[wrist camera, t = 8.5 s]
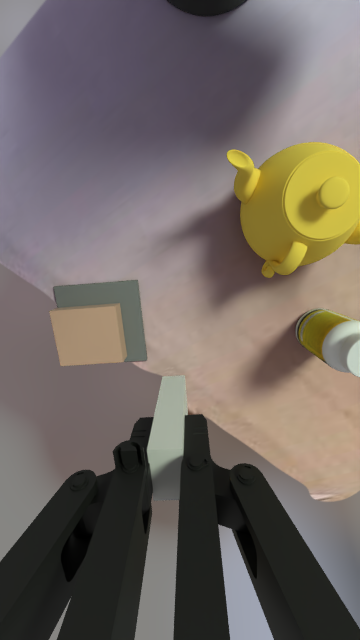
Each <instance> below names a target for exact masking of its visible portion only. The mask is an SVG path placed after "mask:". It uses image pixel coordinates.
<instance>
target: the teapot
mask: <svg viewBox="0 0 360 640" xmlns="http://www.w3.org/2000/svg"><path fill="white" fill-rule="evenodd" d="M227 159H228V160H229V162H230V163H231V164H232V165H233V166H234V167H235V168H236V169H237V170H238V172H237V174H236V177H235V181H234V192H235V194H236V196H237V198H238V199H239V200H240V201H241V210H240V220H241V226H242V230H243V233H244V236H245V238H246V240H247V242H248V244H249V245H250V247H251V248H252V249H253V250H254V251H255V252H256V253H257V254H258V255H259V256H260V257H262V258H263V259H265V260H266V262H265V263H264V265H263V268H262V274H263V275H264V276H265V277H267V278H271V277H272V276H273V275H274V273H275V272H276V273H278V274H281V275H289V274H291V273H292V272H293V271H294V270H295V269H296V268H297V267H298V266H303V265H307V264H310V263H313V262H316V261H319V260H321V259H323V258H325V257H326V256H328V255H330V254H331V253H333V252H334V251H336V250H337V249H338V248H339V247H340V246H341V245H342V244H344V243H347V244H360V164H359V162H358V161H357V160H356V159H355V158H354V157H353V156H352V155H350V154H349V153H348V152H346V151H345V150H343V149H341V148H339V147H336V146H333V145H330V144H327V143H321V142H309V143H301V144H297V145H294V146H291V147H288V148H286V149H284V150H282V151H280V152H278V153H276V154H275V155H273V156H272V157H270V158H269V159H268V160H266V161H265V162H264V163H263V164H262V165H261V166H260V167H259V168H258V169H256V168H254V164H253V161H252V160H251V158H250V157H249V156H248V155H246V154H245V153H243V152H241V151H239V150H229V151H228V152H227Z"/></svg>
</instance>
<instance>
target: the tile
mask: <svg viewBox="0 0 360 640" xmlns="http://www.w3.org/2000/svg"><path fill="white" fill-rule="evenodd" d="M49 312H50V317H51V322H52V327H53V332H54V336H55V341H56V346H57V351H58V355H59V361H60V365H61V366H71V365H87V364H102V363H118V362H124V360H125V358H126V357H127V351H126V344H125V337H124V329H123V322H122V315H121V308H120V303H114V304H101V305H88V306H75V307H62V308H56V309H54V310H51V311H49Z"/></svg>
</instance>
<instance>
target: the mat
mask: <svg viewBox="0 0 360 640" xmlns="http://www.w3.org/2000/svg"><path fill="white" fill-rule="evenodd" d="M54 292H55V297H56V302H57V307H58V308H62V307H75V306H88V305H101V304H114V303H120V308H121V315H122V322H123V329H124V337H125V344H126V351H127V357H126V358H125V360H124V362H129V361H144V360H147V353H146V345H145V337H144V328H143V320H142V311H141V303H140V295H139V286H138V280H131V281H118V282H106V283H94V284H81V285H69V286H56V287H54Z"/></svg>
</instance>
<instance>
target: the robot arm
mask: <svg viewBox="0 0 360 640" xmlns="http://www.w3.org/2000/svg"><path fill="white" fill-rule="evenodd" d="M168 1H169V2H170V3H172V4H173V5H174V6H176V7H177V8H179V9H181V10H183V11H185V12H188V13H191V14H195V15H201V16H211V15H218V14H222V13H225V12H227V11H230V10H232V9H234V8H236V7H237V6H239V5H240V4H242V3H243V2H244V1H246V0H168ZM113 455H114V461H115V467H116V468H115V469H114V470H113V471H111V472H108V473H106V474H103V475H100V476H96V475H95V473H94V472H93V471H91V470H81V471H78V472H76V473H74V474H73V475H71V476H70V477H69V478H68V479H67V480H66V481H65V482H64V483H63V485H62V486H61V487H60V489H59V490H58V491H57V492H56V493H55V495H54V496H53V497H52V498H51V500H50V501H49V502H48V503H47V505H46V506H45V507H44V508H43V510H42V511H41V512H40V513H39V514H38V516H37V517H36V519H34V521H33V522H32V523H31V524H30V526H29V527H28V528H27V529H26V531H25V532H24V533H23V534H22V536H21V537H20V538H19V539H18V541H17V542H16V543H15V544H14V546H13V547H12V548H11V549H10V551H9V552H8V553H7V554H6V556H5V557H4V558H3V559H2V560H1V562H0V640H49V638H50V636H51V634H52V632H53V631H54V629H55V627H56V625H57V623H58V621H59V619H60V617H61V615H62V613H63V611H64V609H65V608H66V606H67V604H68V602H69V600H70V598H71V600H70V603H69V605H68V609H67V611H66V614H65V617H64V620H63V623H62V626H61V629H60V632H59V635H58V638H57V640H134V638H135V631H136V623H137V616H138V609H139V602H140V595H141V587H142V581H143V574H144V566H145V560H146V551H147V545H148V538H149V531H150V524H151V517H152V508H151V507H152V506H151V499H152V493H153V500H154V501H158V500H179V521H178V546H177V570H176V594H175V616H174V640H230V634H229V625H228V615H227V606H226V596H225V587H224V577H223V567H222V558H221V548H220V538H219V529H218V524H219V525H222V526H225V527H228V528H231V529H232V531H233V533H234V537H235V539H236V542H237V545H238V547H239V550H240V552H241V555H242V558H243V560H244V563H245V565H246V568H247V570H248V573H249V576H250V578H251V581H252V584H253V586H254V589H255V591H256V594H257V596H258V599H259V602H260V604H261V607H262V609H263V612H264V615H265V617H266V620H267V622H268V625H269V628H270V630H271V633H272V635H273V638H274V640H360V629H359V627H358V625H357V624H356V622H355V621H354V619H353V618H352V616H351V614H350V613H349V611H348V610H347V608H346V606H345V605H344V603H343V602H342V600H341V599H340V597H339V595H338V594H337V592H336V590H335V589H334V587H333V586H332V584H331V582H330V581H329V579H328V578H327V576H326V574H325V573H324V571H323V570H322V568H321V567H320V565H319V563H318V562H317V560H316V559H315V557H314V555H313V554H312V552H311V551H310V549H309V547H308V546H307V544H306V543H305V541H304V540H303V538H302V536H301V535H300V533H299V531H298V530H297V528H296V527H295V525H294V524H293V522H292V520H291V519H290V517H289V516H288V514H287V512H286V511H285V509H284V508H283V506H282V504H281V503H280V501H279V500H278V498H277V497H276V495H275V493H274V492H273V490H272V488H271V487H270V486H269V484H268V482H267V481H266V479H265V478H264V476H263V474H262V473H261V472H260V471H259V470H258V468H256V467H255V466H253V465H250V464H246V463H244V464H238V465H236V466H234V467H233V468H232V469H231V470H228V469H225V468H222V467H219V466H218V465H216V464H215V463H214V462H213V461H212V459H211V456H210V448H209V438H208V429H207V420H206V419H205V417H204V416H203V415H202V414H198V415H188V410H187V397H186V384H185V375H183V376H164V377H162V382H161V387H160V392H159V396H158V401H157V405H156V410H155V415H154V417H146V418H140V419H139V420H138V421H137V422H136V423H135V424H134V428H133V431H132V434H131V438H130V440H128V441H124V442H122V443H120V444H119V445H118V446H116V447H115V449H114V451H113ZM71 596H72V597H71Z"/></svg>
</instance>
